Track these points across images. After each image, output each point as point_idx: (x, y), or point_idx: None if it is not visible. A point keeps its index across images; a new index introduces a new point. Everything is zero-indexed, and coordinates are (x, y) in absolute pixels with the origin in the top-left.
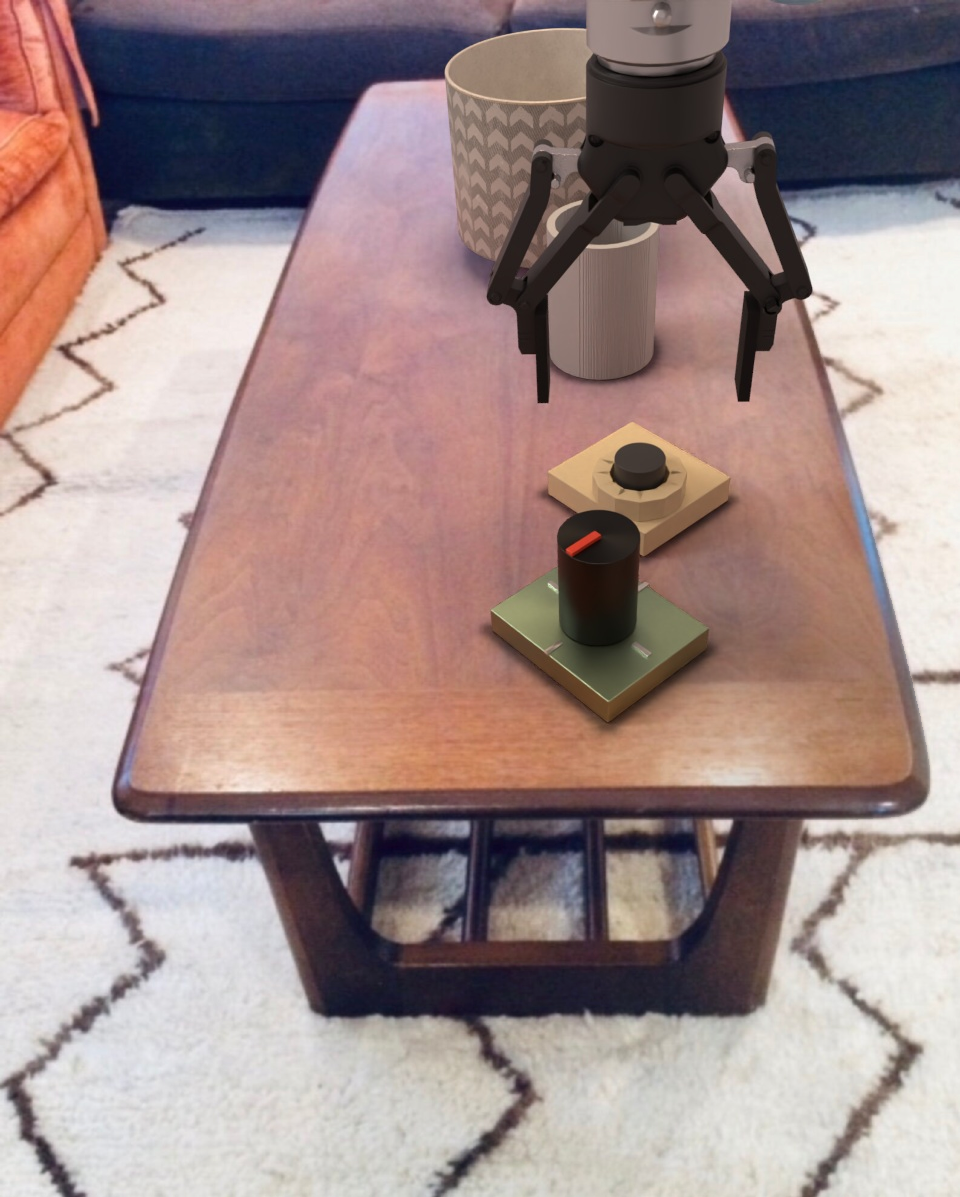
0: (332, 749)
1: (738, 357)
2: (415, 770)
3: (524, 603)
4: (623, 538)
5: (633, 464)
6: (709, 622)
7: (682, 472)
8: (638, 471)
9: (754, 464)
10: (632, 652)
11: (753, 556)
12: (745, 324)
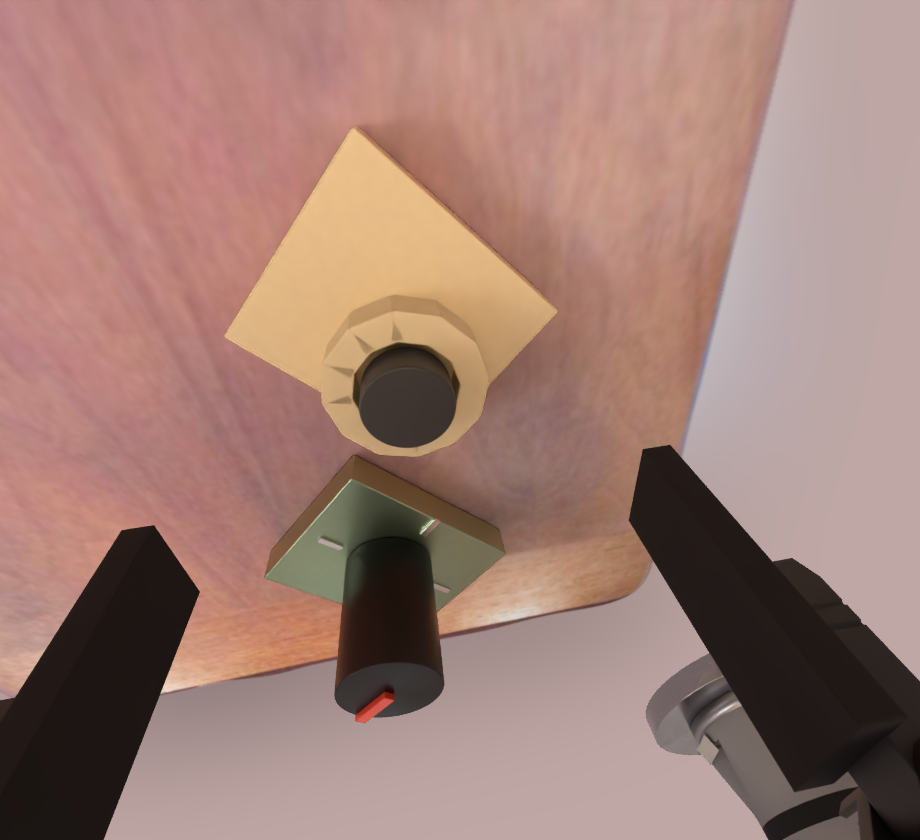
0: (189, 663)
1: (681, 529)
2: (270, 659)
3: (300, 565)
4: (422, 687)
5: (399, 431)
6: (503, 500)
7: (482, 381)
8: (410, 446)
9: (601, 180)
10: None
11: (563, 403)
12: (760, 710)
